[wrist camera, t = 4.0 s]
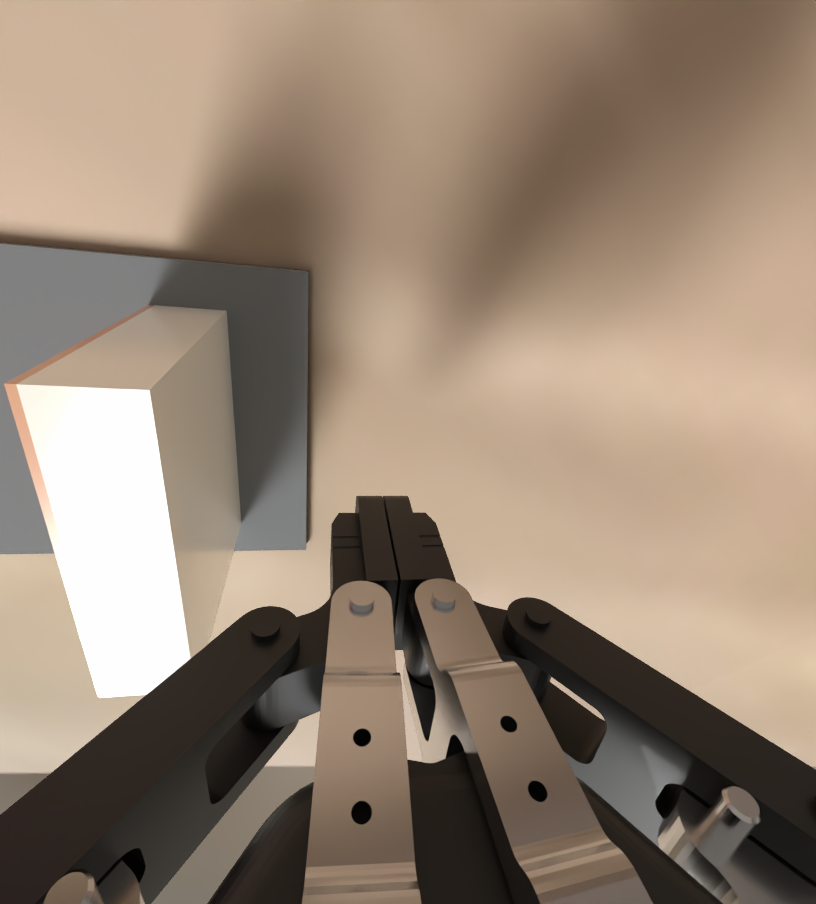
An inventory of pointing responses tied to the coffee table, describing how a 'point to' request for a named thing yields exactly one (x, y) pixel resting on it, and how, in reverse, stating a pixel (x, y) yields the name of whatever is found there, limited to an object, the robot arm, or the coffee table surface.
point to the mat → (178, 285)
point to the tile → (137, 486)
